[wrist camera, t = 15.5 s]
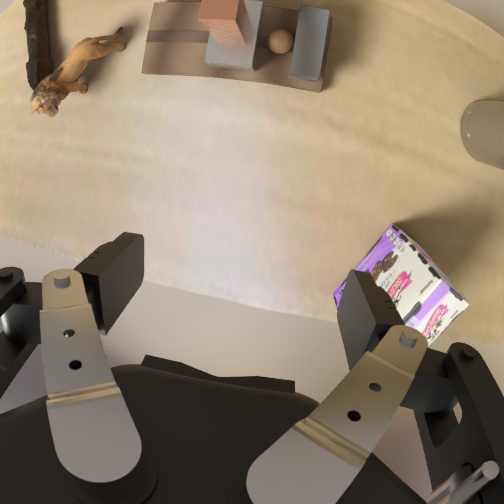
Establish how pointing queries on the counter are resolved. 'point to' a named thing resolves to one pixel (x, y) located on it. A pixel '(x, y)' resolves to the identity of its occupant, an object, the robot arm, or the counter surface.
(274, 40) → the hazelnut
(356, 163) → the counter surface
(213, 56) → the block
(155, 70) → the press base
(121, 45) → the lion figurine
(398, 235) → the candy box
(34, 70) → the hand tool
